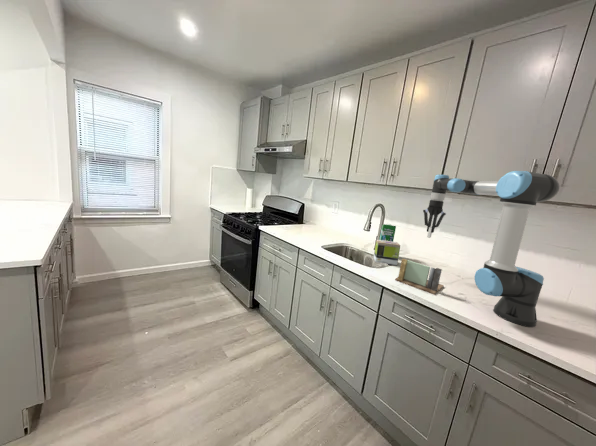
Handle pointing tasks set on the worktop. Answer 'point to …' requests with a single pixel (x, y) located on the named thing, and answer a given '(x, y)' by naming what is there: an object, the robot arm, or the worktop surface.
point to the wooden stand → (432, 290)
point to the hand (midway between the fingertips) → (428, 237)
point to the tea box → (386, 252)
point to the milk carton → (387, 232)
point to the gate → (419, 273)
